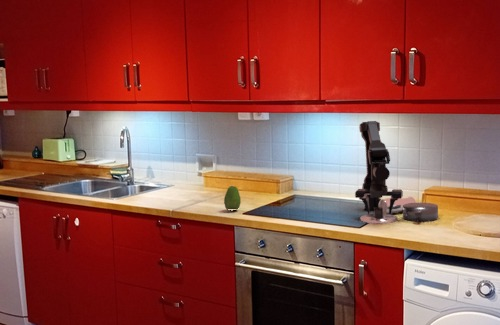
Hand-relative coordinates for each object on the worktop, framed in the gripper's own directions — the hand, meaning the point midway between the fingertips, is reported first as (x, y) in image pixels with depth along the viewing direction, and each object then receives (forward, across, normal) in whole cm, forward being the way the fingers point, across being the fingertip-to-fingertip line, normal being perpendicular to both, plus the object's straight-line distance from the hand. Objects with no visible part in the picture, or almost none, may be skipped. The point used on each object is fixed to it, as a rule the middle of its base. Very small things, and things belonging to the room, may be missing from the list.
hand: (379, 214), depth 246 cm
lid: (+3, 0, 0) cm, 3 cm away
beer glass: (-1, +11, +19) cm, 22 cm away
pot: (+2, +16, +3) cm, 16 cm away
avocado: (+2, -69, +7) cm, 69 cm away
